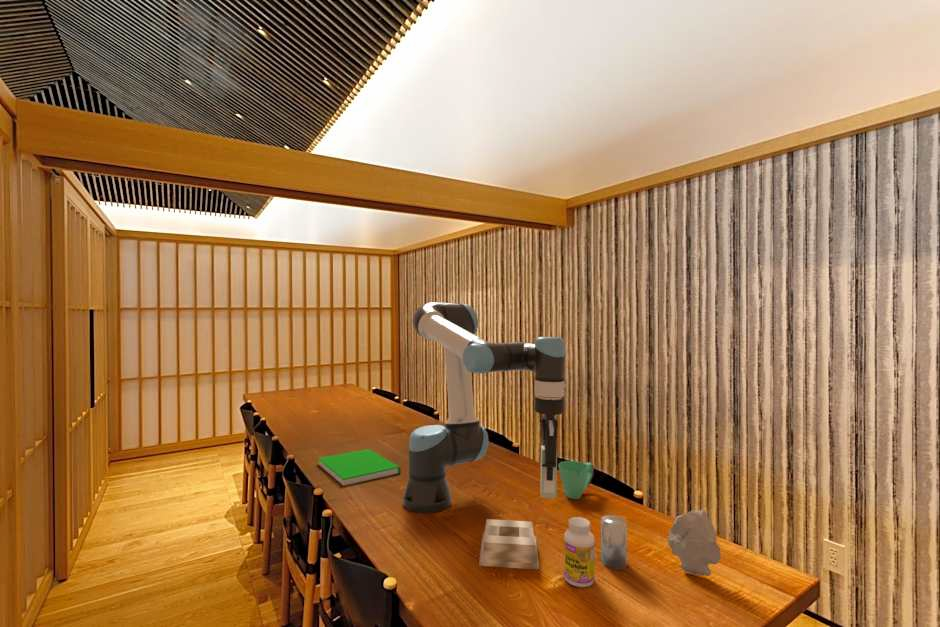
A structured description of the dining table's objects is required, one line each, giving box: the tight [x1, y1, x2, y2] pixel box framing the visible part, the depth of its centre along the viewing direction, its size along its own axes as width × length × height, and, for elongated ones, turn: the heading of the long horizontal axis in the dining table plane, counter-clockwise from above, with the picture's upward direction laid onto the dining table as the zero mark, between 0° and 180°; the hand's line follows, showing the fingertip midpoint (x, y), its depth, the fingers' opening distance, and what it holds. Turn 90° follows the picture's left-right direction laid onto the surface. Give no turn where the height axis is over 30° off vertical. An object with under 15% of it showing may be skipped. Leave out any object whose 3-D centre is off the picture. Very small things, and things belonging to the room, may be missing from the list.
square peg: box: [539, 444, 558, 499], centre depth 109 cm, size 4×4×12 cm
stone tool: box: [667, 509, 722, 577], centre depth 97 cm, size 11×4×15 cm, turn 51°
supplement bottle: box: [563, 516, 596, 588], centre depth 95 cm, size 7×7×13 cm
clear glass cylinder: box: [600, 514, 628, 571], centre depth 102 cm, size 6×6×10 cm
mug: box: [558, 460, 595, 500], centre depth 143 cm, size 15×10×10 cm
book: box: [317, 448, 402, 486], centre depth 165 cm, size 22×28×3 cm
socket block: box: [478, 518, 540, 570], centre depth 106 cm, size 14×14×5 cm
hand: (548, 488), depth 108 cm, fingers closed on square peg, 4 cm apart
